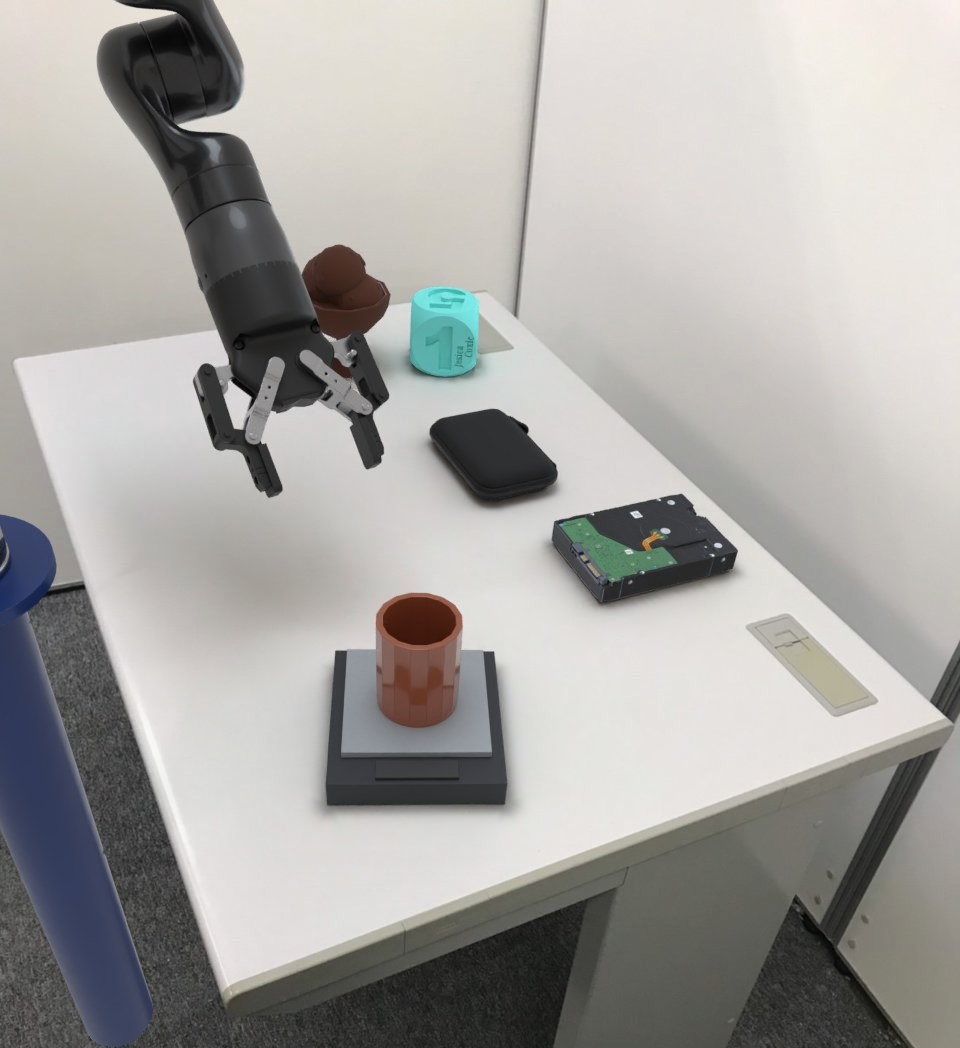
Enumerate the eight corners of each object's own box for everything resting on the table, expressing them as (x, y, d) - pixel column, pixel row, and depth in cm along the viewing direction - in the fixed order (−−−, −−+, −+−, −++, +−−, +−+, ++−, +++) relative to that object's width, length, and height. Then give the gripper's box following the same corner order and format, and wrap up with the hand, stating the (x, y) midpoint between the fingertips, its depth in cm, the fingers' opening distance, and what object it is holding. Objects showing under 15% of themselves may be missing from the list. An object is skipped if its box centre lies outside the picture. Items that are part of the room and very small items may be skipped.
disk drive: (675, 514, 103) (548, 542, 98) (681, 491, 101) (551, 518, 96) (734, 573, 96) (601, 607, 91) (741, 549, 94) (605, 582, 89)
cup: (375, 727, 74) (374, 649, 69) (377, 669, 79) (376, 591, 74) (459, 727, 75) (464, 650, 70) (455, 670, 80) (460, 592, 74)
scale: (326, 805, 73) (325, 779, 71) (336, 671, 83) (334, 644, 81) (504, 804, 74) (508, 778, 72) (492, 671, 84) (495, 645, 82)
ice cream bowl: (406, 374, 121) (408, 251, 111) (324, 396, 116) (318, 269, 106) (363, 339, 127) (360, 219, 117) (283, 358, 122) (273, 234, 112)
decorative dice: (409, 375, 121) (410, 312, 116) (411, 345, 127) (412, 283, 122) (475, 378, 121) (479, 316, 116) (474, 348, 127) (478, 287, 122)
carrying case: (572, 490, 105) (508, 422, 114) (576, 465, 103) (510, 398, 112) (481, 511, 101) (422, 439, 111) (483, 485, 99) (423, 414, 109)
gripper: (169, 274, 70) (253, 493, 71) (349, 243, 77) (424, 444, 78) (152, 316, 77) (229, 516, 78) (319, 284, 83) (388, 469, 84)
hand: (326, 480), depth 78 cm, fingers open, 8 cm apart
